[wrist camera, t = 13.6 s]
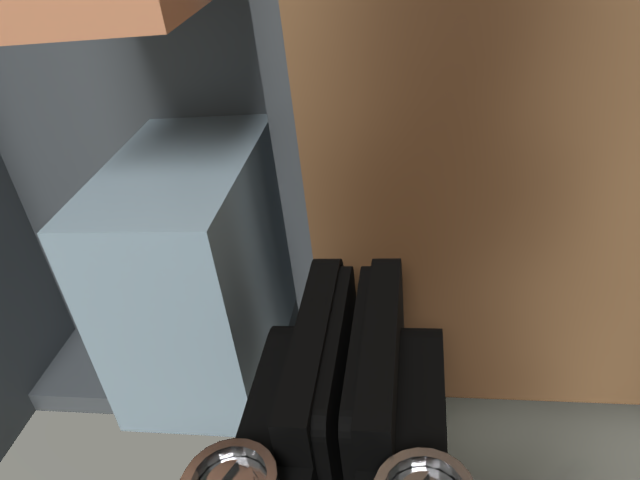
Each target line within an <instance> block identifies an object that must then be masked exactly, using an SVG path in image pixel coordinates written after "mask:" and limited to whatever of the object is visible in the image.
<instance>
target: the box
mask: <svg viewBox="0 0 640 480" xmlns="http://www.w3.org/2000/svg"><path fill="white" fill-rule="evenodd" d="M252 114H267V117H268V123H269V130H270V136H271V142H272V148H273V155H274V161H275V167H276V173H277V180H278V186H279V192H280V198H281V205H282V211H283V217H284V223H285V230H286V236H287V242H288V248H289V255H290V261H291V267H292V274H293V280H294V286H295V292H296V301H295V305H294V308H293V312H292V316H291V319H290V323H289V326H295V323H296V319H297V315H298V311H299V308H300V304H301V300H302V296H303V293H304V289H305V285H306V281H307V278H308V274H309V270H310V266H311V263H312V260H313V254H312V247H311V239H310V232H309V224H308V217H307V209H306V202H305V195H304V187H303V180H302V172H301V165H300V157H299V150H298V143H297V135H296V128H295V120H294V113H293V105H292V98H291V90H290V83H289V76H288V68H287V61H286V53H285V46H284V38H283V31H282V23H281V16H280V9H279V1H278V0H212V1H211V2H209V3H208V4H207V5H205V6H204V7H203V8H201V9H200V10H199V11H198V12H196V13H195V14H194V15H192V16H191V17H190V18H188V19H187V20H186V21H184V22H183V23H182V24H180V25H179V26H178V27H176V28H175V29H174V30H172V31H171V32H170V33H168V34H167V35H153V36H139V37H125V38H110V39H96V40H82V41H68V42H54V43H40V44H25V45H11V46H0V462H1V460H2V459H3V457H4V456H5V455H6V453H7V452H8V450H9V449H10V447H11V446H12V444H13V443H14V441H15V440H16V438H17V437H18V436H19V434H20V433H21V431H22V430H23V428H24V427H25V425H26V423H27V422H28V421H29V419H30V418H31V416H32V415H33V414H34V412H35V411H36V410H41V411H62V412H83V413H103V414H114V413H113V411H112V408H111V406H110V404H109V401H108V399H107V397H106V394H105V392H104V390H103V387H102V385H101V383H100V380H99V378H98V376H97V373H96V371H95V369H94V366H93V364H92V362H91V359H90V357H89V355H88V352H87V350H86V348H85V345H84V343H83V341H82V338H81V336H80V334H79V331H78V329H77V326H76V324H75V322H74V319H73V317H72V315H71V312H70V310H69V308H68V305H67V303H66V301H65V298H64V296H63V294H62V291H61V289H60V287H59V284H58V282H57V280H56V277H55V275H54V273H53V270H52V268H51V266H50V263H49V261H48V259H47V256H46V254H45V252H44V249H43V247H42V245H41V242H40V240H39V238H38V235H37V233H38V232H39V231H40V230H41V229H42V228H43V227H44V226H45V225H46V224H47V223H48V222H49V221H50V220H51V219H52V218H53V217H54V215H55V214H56V213H57V212H58V211H59V210H60V209H61V208H62V207H63V206H64V205H65V204H66V203H67V202H68V201H69V200H70V199H71V198H72V197H73V196H74V195H75V194H76V193H77V192H78V191H79V190H80V189H81V188H82V187H83V186H84V185H85V184H86V183H87V182H88V181H89V180H90V179H91V178H92V177H93V176H94V175H95V174H96V173H97V172H98V171H99V170H100V169H101V168H102V167H103V166H104V165H105V164H106V163H107V162H108V161H109V160H110V159H111V158H112V157H113V156H114V155H115V154H116V153H117V152H118V151H119V150H120V149H121V148H122V147H123V146H124V145H125V144H126V143H127V142H128V141H129V140H130V139H131V138H132V137H133V136H134V135H135V134H136V133H137V132H138V131H139V129H140V128H141V127H142V126H143V125H144V124H145V123H146V122H147V121H148V120H149V119H166V118H187V117H209V116H231V115H252Z"/></svg>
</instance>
